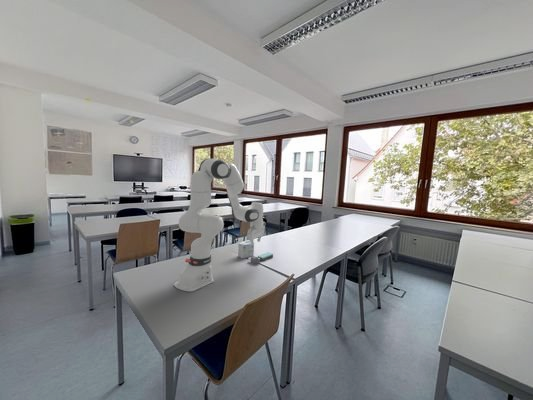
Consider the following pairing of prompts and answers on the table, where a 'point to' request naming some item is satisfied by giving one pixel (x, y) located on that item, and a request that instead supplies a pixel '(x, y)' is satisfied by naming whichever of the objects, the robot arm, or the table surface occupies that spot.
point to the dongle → (254, 260)
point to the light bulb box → (245, 249)
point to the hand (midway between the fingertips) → (255, 243)
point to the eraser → (265, 256)
